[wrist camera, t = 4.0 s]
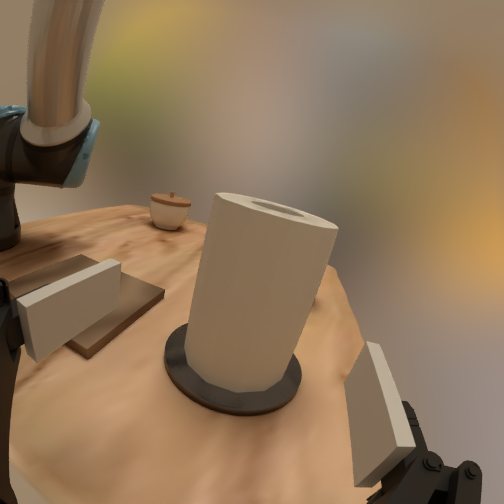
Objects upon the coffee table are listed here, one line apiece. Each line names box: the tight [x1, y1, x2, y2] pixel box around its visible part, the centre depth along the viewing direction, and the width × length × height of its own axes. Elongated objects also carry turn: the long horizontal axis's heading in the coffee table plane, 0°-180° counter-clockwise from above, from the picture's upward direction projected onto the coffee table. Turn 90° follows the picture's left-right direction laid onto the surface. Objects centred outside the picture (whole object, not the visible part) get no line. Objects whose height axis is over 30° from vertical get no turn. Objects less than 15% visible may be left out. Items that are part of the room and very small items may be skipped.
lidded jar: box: [150, 192, 191, 230], centre depth 69 cm, size 11×11×9 cm
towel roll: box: [184, 193, 338, 393], centre depth 24 cm, size 10×10×15 cm
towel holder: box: [164, 323, 302, 416], centre depth 25 cm, size 14×14×13 cm
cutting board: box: [8, 254, 165, 359], centre depth 29 cm, size 16×16×1 cm
